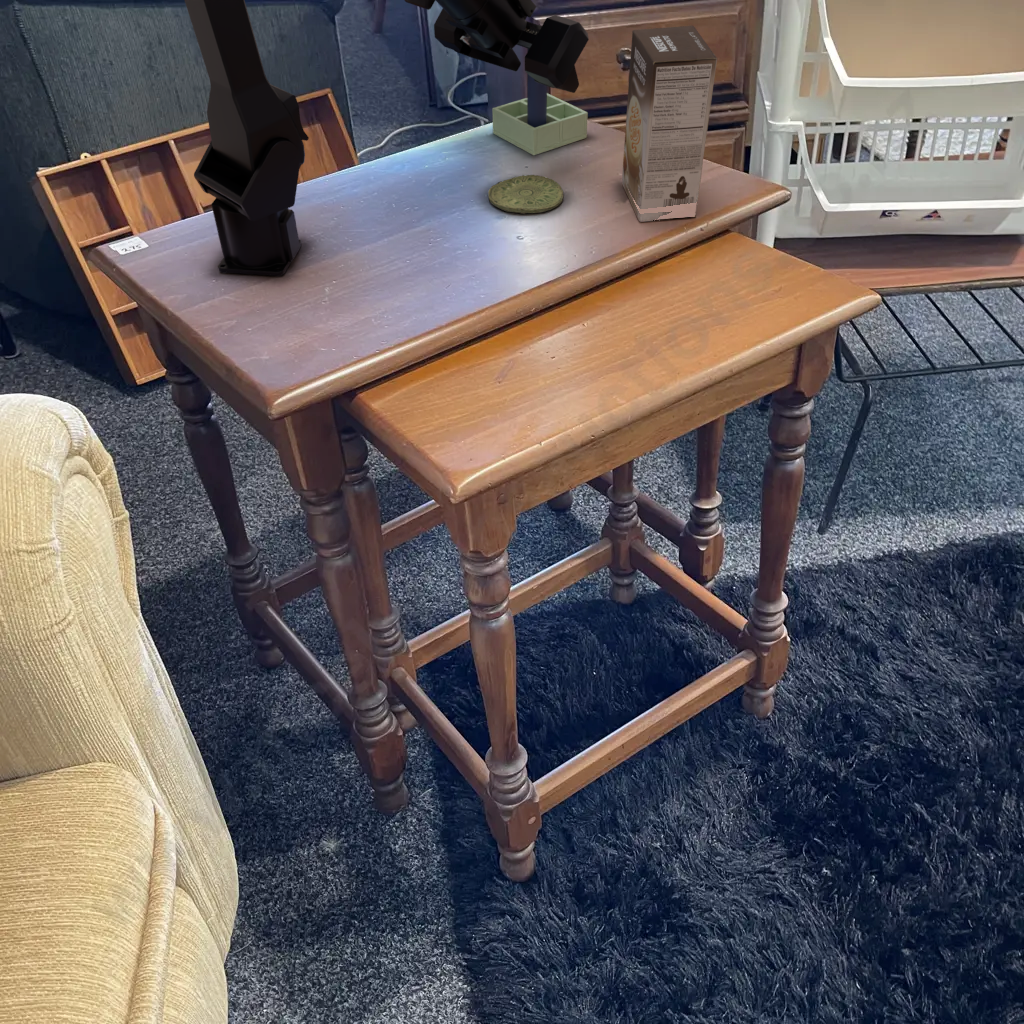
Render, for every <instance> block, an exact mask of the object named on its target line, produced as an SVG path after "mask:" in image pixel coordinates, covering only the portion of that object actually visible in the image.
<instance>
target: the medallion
mask: <svg viewBox="0 0 1024 1024" xmlns="http://www.w3.org/2000/svg"><path fill="white" fill-rule="evenodd" d="M487 193H488V195H487V196H488V201H489V203H490V204H491V205H492V206H494V207H495V208H498V209H499V210H502V211H505V212H507V213H516V214H520V215H523V214H538V213H545V212H548V211H551V210H553V209H555V208H557V207H559V205H561V203H562V202H563V200H564V190H563V188H562V187H561V185H560V184H559V183H558V182H557V181H555V179H552V178H549V177H546V176H543V175H537V174H536V175H535V174H526V175H524V174H523V175H518V176H514V177H510V178H508V179H504V180H502V181H499V182H497V183H496V184H493V185H492V186H490V188H489V189H488V192H487Z"/></svg>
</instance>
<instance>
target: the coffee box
mask: <svg viewBox="0 0 1024 1024" xmlns="http://www.w3.org/2000/svg"><path fill="white" fill-rule="evenodd" d="M631 32H632V33H631V35H632V36H631V47H630V59H629V60H630V61H629V73H628V75H629V77H628V86H627V87H628V88H627V105H626V114H625V115H626V117H625V130H624V144H623V159H622V175H621V184H622V187H623V189H624V192H625V194H626V196H627V198H628V201H629V203H630V204H631V207H632V209H633V211H634V213H635V216H636V218H637V220H638V221H639V223H645V222H656V221H655V219H656V220H657V219H658V218H659V217H660V216H663V215H667V214H669V213H671V212H672V211H671V212H658V213H644V214H640V213H639V211H638V209H637V207H636V205H635V203H634V201H633V199H632V197H633V198H634V200H635V202H636V204H637V205H638V206H639V208H640V209H648V208H657V207H666V206H673V205H680V204H687V203H688V204H690V203H696V202H698V203H699V195H700V188H701V181H702V180H701V179H702V174H703V173H702V171H703V164H704V158H705V157H704V156H705V149H706V144H707V135H708V129H709V121H710V114H711V106H712V99H713V91H714V84H715V76H716V70H717V63H718V57H717V56H716V55H715V53H714V51H713V50H712V49H711V48H710V47H709V45H708V44H707V42H706V41H705V39H704V38H703V37H702V35H701V34H700V33H699V31H698V29H697V27H696V26H694V25H684V26H683V25H682V26H671V27H670V26H669V27H653V28H641V29H634V30H632V31H631ZM628 189H629V190H628ZM629 191H630V193H631V195H632V197H631V195H630V193H629ZM653 220H654V221H653Z"/></svg>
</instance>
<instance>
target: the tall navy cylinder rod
mask: <svg viewBox="0 0 1024 1024" xmlns="http://www.w3.org/2000/svg"><path fill="white" fill-rule="evenodd" d="M526 49H527V50H526V51H527V52H528V50H529V49H528V48H526ZM527 52H526V53H527ZM526 75H527V78H526V79H527V86H526V87H527V90H526V91H527V97H526V98H527V124H528V125H530V126H532V127H534V128H535V127H538V126H541V125H545V124H547V93H548V86H546V85H543V84H540V83H538V82H535V81H534V80H535V79H534V78H532V77H531V76H529V74H528V73H527V72H526Z"/></svg>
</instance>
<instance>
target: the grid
mask: <svg viewBox="0 0 1024 1024" xmlns="http://www.w3.org/2000/svg"><path fill="white" fill-rule="evenodd" d="M491 111H492V134H494V135H495V136H496V137H499V138H500V139H502V140H505V141H506V142H507V143H510V144H512V145H514V146H515V147H516V148H517V147H518V148H519V149H521V150H523V151H525V152H527V153H528V154H530V155H532V156H536V155H540V154H542V153H545V152H549V151H551V150H554V149H557V148H561V147H563V146H567V145H569V144H573V143H576V142H578V141H581V140H584V139H587V138H588V117H589V115H588V114H589V113H588V111H585V110H583V109H581V108H580V107H577V106H575V105H573V104H571V103H568V102H566V101H565V100H562V99H560V98H558V97H556V96H554V95H552V94H549V92H547V124H545V125H541V126H538V127H535V128H534V127H532V126H530V125H528V124H527V97H525V98H522V99H518V100H515V101H512V102H508V103H505V104H502V105H498V106H496V107H495V106H494V107H492V110H491Z"/></svg>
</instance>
